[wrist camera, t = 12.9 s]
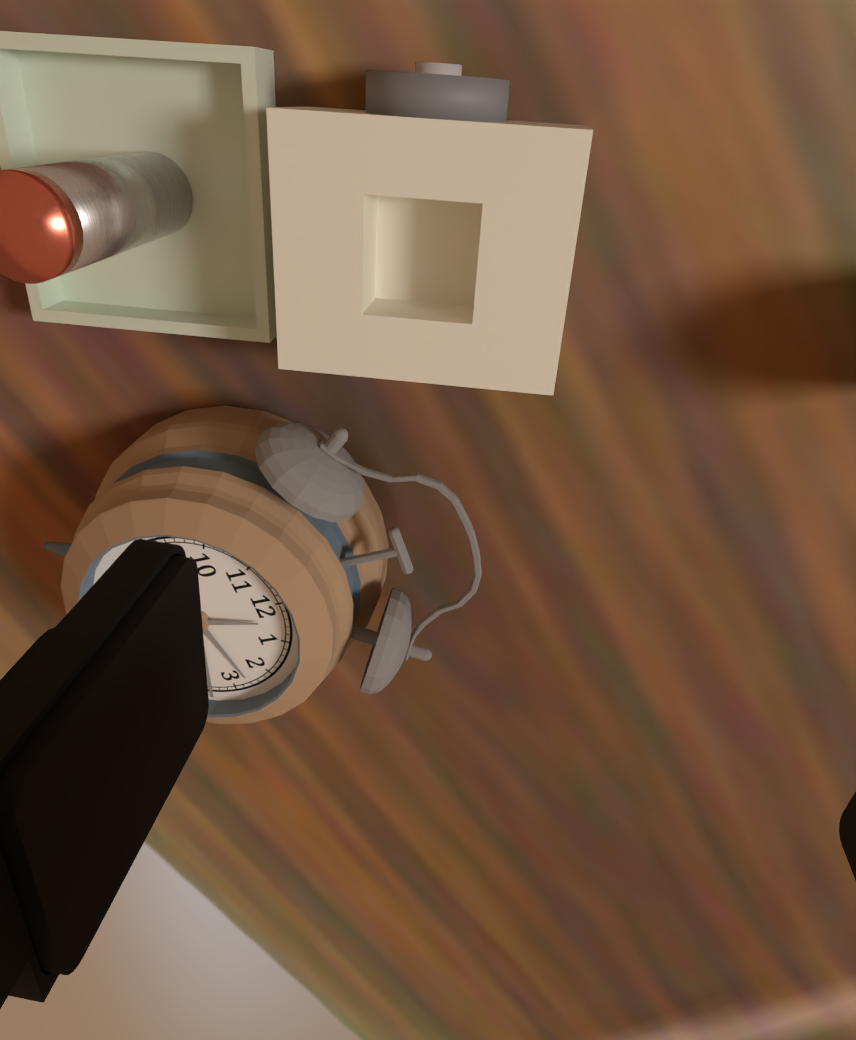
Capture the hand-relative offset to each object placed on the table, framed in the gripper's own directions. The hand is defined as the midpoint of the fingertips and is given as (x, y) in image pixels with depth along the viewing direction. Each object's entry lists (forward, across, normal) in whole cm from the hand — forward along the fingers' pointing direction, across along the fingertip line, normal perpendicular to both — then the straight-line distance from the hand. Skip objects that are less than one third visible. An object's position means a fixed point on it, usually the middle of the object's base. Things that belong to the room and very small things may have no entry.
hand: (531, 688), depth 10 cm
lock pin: (+28, +18, -1) cm, 33 cm away
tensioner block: (+29, +5, 0) cm, 29 cm away
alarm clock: (+29, +12, +17) cm, 35 cm away
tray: (+28, +18, -1) cm, 34 cm away
